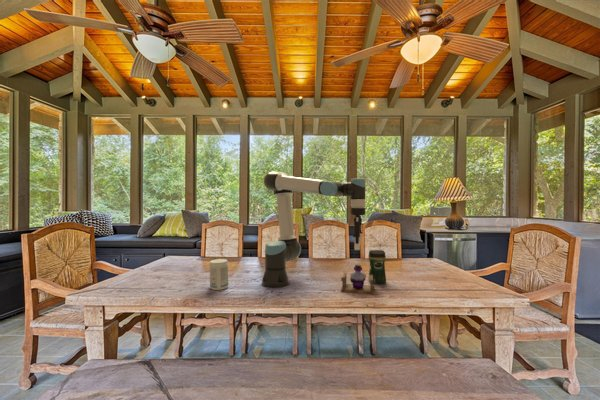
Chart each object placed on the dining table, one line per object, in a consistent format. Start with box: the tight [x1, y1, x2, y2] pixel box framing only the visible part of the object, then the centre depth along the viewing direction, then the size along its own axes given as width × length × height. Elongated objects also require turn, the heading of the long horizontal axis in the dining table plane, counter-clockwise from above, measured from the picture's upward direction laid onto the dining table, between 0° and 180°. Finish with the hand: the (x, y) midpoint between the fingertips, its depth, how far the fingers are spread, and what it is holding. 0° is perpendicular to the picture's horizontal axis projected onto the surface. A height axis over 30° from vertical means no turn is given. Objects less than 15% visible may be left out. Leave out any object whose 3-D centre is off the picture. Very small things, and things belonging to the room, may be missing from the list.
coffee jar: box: [368, 249, 387, 285], centre depth 160 cm, size 10×8×19 cm
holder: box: [340, 272, 375, 295], centre depth 147 cm, size 17×10×7 cm, turn 75°
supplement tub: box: [209, 258, 229, 291], centre depth 150 cm, size 10×10×15 cm
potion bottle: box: [349, 263, 367, 289], centre depth 147 cm, size 9×9×12 cm
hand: (357, 247), depth 147 cm, fingers open, 13 cm apart
